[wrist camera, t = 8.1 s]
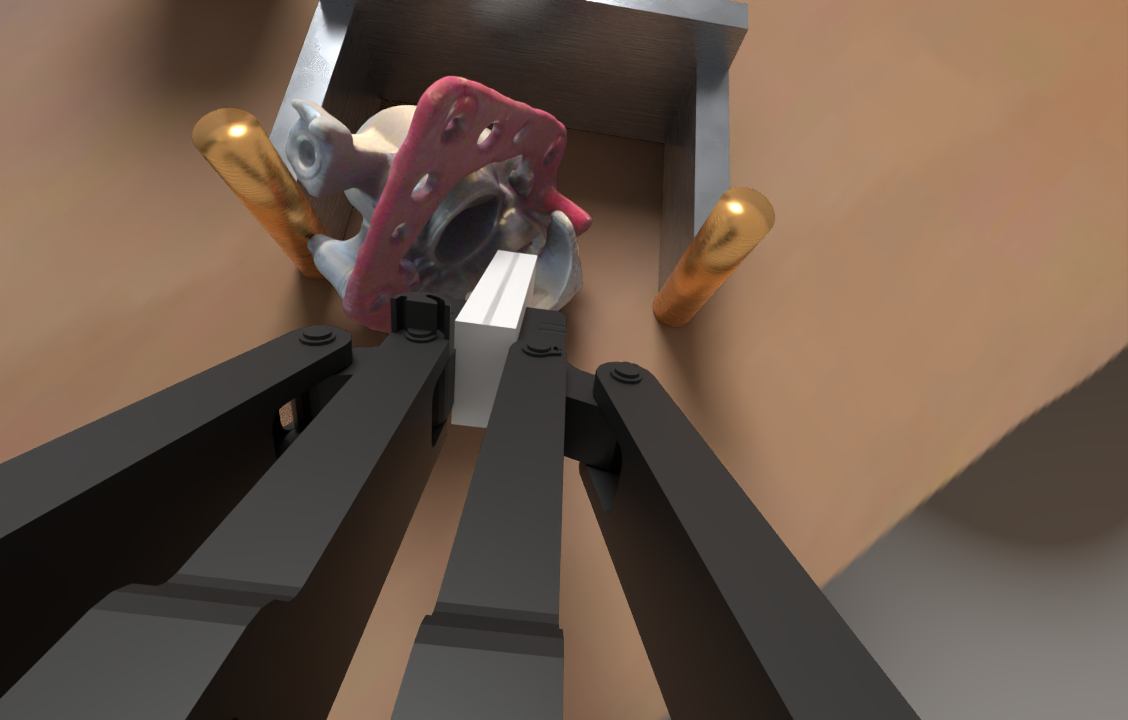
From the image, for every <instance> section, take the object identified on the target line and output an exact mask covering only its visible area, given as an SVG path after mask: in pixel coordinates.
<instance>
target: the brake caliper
mask: <svg viewBox="0 0 1128 720" xmlns="http://www.w3.org/2000/svg"><path fill="white" fill-rule="evenodd" d="M291 105H292V106H293V108H294V109H295V110H296V111H297V112H298V113H299V115H300V118H299V119H298V120H297V122H296V123H295V124H294V125H293V126H292V127H291V128H290V130H289V133H288V138H287V141H286V144H285V152H286V156H287V159H288V161H289V163H290V165H291V166H292V169H293V170H294V172H295V174H296V176H297V178H298V179H299V181H300V182H301V183H302V184H303V186H304V187H305V188H306V189H307V191H308V192H309V194H311V195H312V196H315V197H318V198H319V197H324V196H326V195H328V194H332V193H336V192H340V191H344V192H345V195H346V197H347V198H348V200H349V201H350V203H351V204H352V205H353V206H354V207H355V208H356V209H357V210H358V211H359V212H360V213H361V214H362V216H363V222H362V226H361V229H360V232H359V233H358V234H357V235H356V236H355V237H353V238H351V239H349V240H346V241H339V240H336V239H333V238H330V237H328V236H326V235H323V234H316V235H314V236H312V237H311V238H310V239H309V240H308V249H309V251H310V252H311V254H312V256H313V259H314V263H315V266H316V267H317V269H318V270H319V271H320V273H321V274H322V275H323V276H324V277H325V278H326V279H327V280H328V281H329V282H330V283H331V284H332V285H333V286H334V288H335V289H336V291H337V292H338V294H339V295H340V297H341V298H342V299H343V309H344V312H345V314H346V315H347V316H348V317H349V318H350V319H351V320H355V321H356V322H358V323H360V324H363V325H364V326H367V327H368V328H370V329H371V330H377V331H382V332H385V333H389V334H390V333H391V303H390V298H391V297H393V296H395V295H397V294H401V293H406V292H429V293H434V294H438V295H441V296H444V297H446V298H452V299H460V300H468V299H469V297H470V295H471V294H472V292H473V291H474V289H475V287H476V286H477V284H478V282H479V281H480V279H481V277H482V276H483V274H484V273H485V271H486V269H487V268H488V266H489V264H490V263H491V261H492V260H493V258H494V256H495V255H496V253H497V251H498V250H501V251H508V252H516V253H523V254H530V255H537V264H536V273H535V282H534V292H533V301H532V308H538V309H546V310H553V311H558V310H560V309H561V308H562V307H563V306H565V305H566V304H567V303H568V302H569V301H570V300H571V299H572V298H574V297H575V296H576V294H577V293H578V292H579V291H580V290H581V289H582V285H583V282H582V270H581V262H580V259H579V248H578V244H577V238H576V237H578V236H580V235H581V234H582V233H583V232H585V231H586V230H588V228H589V227H590V226H591V224H592V221H593V220H592V218H591V217H590V215H589V214H588V213H586V212H585V211H584V210H583V209H581V208H580V207H579V206H577V205H576V204H575V203H574V202H572V201H571V200H569V199H567V198H566V197H564V196H563V195H562V194H561V193H560V192H559V191H558V190H557V173H558V168H559V165H560V163H561V161H562V157H563V154H564V151H565V148H566V144H567V131H566V129H565V126H564V125H563V124H562V123H561V122H560V121H558V120H557V119H556V118H555V117H554V116H552V115H551V114H549V113H548V112H545V111H542V110H540V109H534V108H532V107H530V106H529V105H527V104H525V103H522V102H519V101H514V100H512V99H510V98H508V97H506V96H504V95H502V94H500V93H499V92H497V91H495V90H494V89H491V88H488V87H486V86H484V85H482V84H481V83H478V82H475V81H471V80H468V79H465V78H461V77H457V76H447V77H443V78H441V79H439V80H438V81H436V82H435V83H434V84H432V85H431V86H430V87H429V88H428V89H427V90H426V91H425V92H424V94H423V95H422V96H421V98H420V100H419V102H418V105H417V106H414V105H401V106H395V107H391V108H387V109H385V110H382V111H380V112H378V113H377V114H376V115H374V116H373V117H371V118H370V119H369V120H367V121H366V122H365V123H364V124H363V126H362V127H361V128H360V129H359V130H358V132H357V133H356V134H351V132H350V131H349V130H348V129H347V127H346V126H345V125H344V124H342V123H341V122H340V121H338V120H337V119H336V118H334V117H333V116H331V115H330V114H329V113H327V112H326V111H325V110H324V109H323V108H322V107H321V106H319V105H318V104H316V103H314V102H311V101H305V100H300V99H293V100H292V102H291ZM491 123H494V126H493V128H492V131H491V130H489V129H488V128H486V127H487V126H489V125H490V124H491ZM447 125H448V126H447Z"/></svg>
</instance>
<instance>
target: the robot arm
mask: <svg viewBox="0 0 1128 720" xmlns="http://www.w3.org/2000/svg"><path fill="white" fill-rule="evenodd" d="M536 264H537V255H530V254H523V253H516V252H508V251H501V250H498V251H497V253H496V255H495V256H494V258H493V260H492V261H491V263H490V264H489V266H488V268H487V269H486V271H485V273H484V274H483V276H482V277H481V279H480V281H479V282H478V284H477V286H476V287H475V289H474V291H473V292H472V294H471V295H470V297H469V299H468V300H460V299H452V298H446V297H444V296H441V295H438V294H434V293H429V292H406V293H401V294H397V295H395V296H393V297H391V298H390V303H391V333H390V334H389V335H388V337H387V338H386V339H385V340H384V341H383V342H382V343H381V344H380V346H379V347H352V338H351V334H350V333H349V332H348V331H346V330H343V329H341V328H337V327H330V326H329V325H322V326H320V325H312V326H311V327H305V328H300V329H297V330H294V331H291V332H289V333H287V334H285V335H282V336H280V337H278V338H276V339H274V340H271V341H269V342H267V343H265V344H263V345H261V346H258V347H256V348H254V349H252V350H250V351H247V352H245V353H243V354H241V355H239V356H236V357H234V358H232V359H230V360H228V361H225V362H223V363H221V364H219V365H217V366H214V367H212V368H210V369H208V370H206V371H203V372H201V373H199V374H197V375H195V376H192V377H190V378H188V379H186V380H184V381H181V382H179V383H177V384H175V385H173V386H171V387H168V388H166V389H164V390H162V391H160V392H157V393H155V394H153V395H151V396H149V397H146V398H144V399H142V400H140V401H138V402H135V403H133V404H131V405H129V406H127V407H124V408H122V409H120V410H118V411H116V412H113V413H111V414H109V415H107V416H105V417H102V418H100V419H98V420H96V421H94V422H92V423H89V424H87V425H85V426H83V427H81V428H78V429H76V430H74V431H72V432H70V433H67V434H65V435H63V436H61V437H59V438H56V439H54V440H52V441H50V442H48V443H45V444H43V445H41V446H39V447H37V448H34V449H32V450H30V451H28V452H26V453H23V454H21V455H19V456H17V457H15V458H13V459H10V460H8V461H6V462H4V463H2V464H0V720H326V719H327V717H328V715H329V712H330V710H331V707H332V705H333V703H334V700H335V698H336V696H337V693H338V691H339V689H340V686H341V684H342V681H343V679H344V677H345V674H346V672H347V670H348V667H349V665H350V663H351V660H352V658H353V655H354V653H355V651H356V648H357V646H358V644H359V641H360V639H361V637H362V634H363V632H364V629H365V627H366V625H367V622H368V620H369V618H370V615H371V613H372V611H373V608H374V606H375V603H376V601H377V599H378V596H379V594H380V592H381V589H382V587H383V584H384V582H385V580H386V577H387V575H388V573H389V570H390V568H391V566H392V563H393V561H394V558H395V556H396V554H397V551H398V549H399V547H400V544H401V542H402V540H403V537H404V535H405V532H406V530H407V528H408V525H409V523H410V521H411V518H412V516H413V514H414V511H415V509H416V506H417V504H418V502H419V499H420V497H421V495H422V492H423V490H424V488H425V485H426V483H427V480H428V478H429V476H430V473H431V471H432V469H433V466H434V464H435V462H436V459H437V457H438V454H439V452H440V450H441V447H442V445H443V443H444V440H445V438H446V435H447V417H448V414H449V412H450V410H451V408H452V419H451V424H456V425H464V426H472V427H480V428H486V432H485V435H484V439H483V442H482V446H481V449H480V453H479V456H478V460H477V463H476V467H475V470H474V474H473V477H472V481H471V484H470V488H469V491H468V495H467V498H466V502H465V505H464V509H463V512H462V516H461V519H460V523H459V526H458V530H457V533H456V537H455V540H454V544H453V547H452V551H451V554H450V558H449V561H448V564H447V568H446V571H445V575H444V578H443V582H442V585H441V589H440V592H439V596H438V599H437V603H436V606H435V609H434V612H433V613H432V615H426V616H425V617H424V619H423V621H422V623H421V625H420V627H419V630H418V633H417V636H416V639H415V642H414V645H413V648H412V651H411V654H410V658H409V661H408V664H407V667H406V671H405V674H404V677H403V680H402V684H401V687H400V690H399V693H398V697H397V700H396V703H395V706H394V710H393V713H392V716H391V719H390V720H563V670H564V638H563V630H562V629H559V587H560V556H561V524H562V493H563V461H564V456H566V457H569V458H571V459H574V460H577V461H580V463H579V473H580V476H581V478H582V481H583V484H584V486H585V489H586V492H587V494H588V497H589V500H590V502H591V505H592V508H593V510H594V513H595V516H596V519H597V521H598V524H599V527H600V529H601V532H602V535H603V537H604V540H605V543H606V545H607V548H608V551H609V553H610V556H611V559H612V561H613V564H614V567H615V569H616V572H617V575H618V577H619V580H620V583H621V586H622V588H623V591H624V594H625V596H626V599H627V602H628V604H629V607H630V610H631V612H632V615H633V618H634V620H635V623H636V626H637V628H638V631H639V634H640V636H641V639H642V642H643V645H644V647H645V650H646V653H647V655H648V658H649V661H650V663H651V666H652V669H653V671H654V674H655V677H656V679H657V682H658V685H659V687H660V690H661V693H662V695H663V698H664V701H665V704H666V706H667V709H668V712H669V714H670V717H671V720H921V719H920V718H919V716H918V715H917V714H916V713H915V711H914V710H913V709H912V707H911V706H910V705H909V704H908V703H907V701H906V700H905V698H904V697H903V696H902V695H901V693H900V692H899V691H898V689H897V688H896V687H895V685H894V684H893V683H892V682H891V680H890V679H889V678H888V677H887V675H886V674H885V673H884V671H883V670H882V669H881V667H880V666H879V665H878V664H877V662H876V661H875V660H874V659H873V657H872V656H871V655H870V653H869V652H868V651H867V650H866V648H865V647H864V646H863V644H862V643H861V642H860V641H859V639H858V638H857V637H856V635H855V634H854V633H853V631H852V630H851V629H850V628H849V626H848V625H847V624H846V622H845V621H844V620H843V619H842V617H841V616H840V615H839V613H838V612H837V611H836V610H835V608H834V607H833V606H832V604H831V603H830V602H829V600H828V599H827V598H826V597H825V595H824V594H823V593H822V591H821V590H820V589H819V588H818V586H817V585H816V584H815V582H814V581H813V580H812V579H811V577H810V576H809V575H808V573H807V572H806V571H805V570H804V568H803V567H802V566H801V564H800V563H799V562H798V561H797V559H796V558H795V557H794V555H793V554H792V553H791V552H790V550H789V549H788V548H787V546H786V545H785V544H784V543H783V541H782V540H781V539H780V537H779V536H778V535H777V534H776V532H775V531H774V530H773V528H772V527H771V526H770V525H769V523H768V522H767V521H766V519H765V518H764V517H763V516H762V514H761V513H760V512H759V510H758V509H757V508H756V506H755V505H754V504H753V503H752V501H751V500H750V499H749V497H748V496H747V495H746V494H745V492H744V491H743V490H742V488H741V487H740V486H739V485H738V483H737V482H736V481H735V479H734V478H733V477H732V476H731V474H730V473H729V472H728V470H727V469H726V468H725V467H724V465H723V464H722V463H721V461H720V460H719V459H718V458H717V456H716V455H715V454H714V452H713V451H712V450H711V449H710V447H709V446H708V445H707V443H706V442H705V441H704V440H703V438H702V437H701V436H700V434H699V433H698V432H697V431H696V429H695V428H694V427H693V425H692V424H691V423H690V422H689V420H688V419H687V418H686V416H685V415H684V414H683V412H682V411H681V410H680V409H679V407H678V406H677V405H676V403H675V402H674V401H673V400H672V398H671V397H670V396H669V394H668V393H667V392H666V391H665V389H664V388H663V387H662V385H661V384H660V383H659V382H658V380H657V379H656V378H655V376H654V375H652V374H651V373H650V372H649V371H648V370H646V369H644V368H642V367H640V366H639V365H637V364H633V363H632V364H631V363H629V362H608V363H605V364H602V365H600V366H599V367H598V368H597V370H596V374H595V375H593V374H590V373H586V372H584V371H581V370H579V369H577V368H575V367H573V366H572V365H571V364H569V363H568V361H567V354H566V351H565V343H566V323H567V318H566V317H565V316H564V315H563V314H562V313H561V312H560V311H553V310H546V309H538V308H532V301H533V292H534V282H535V273H536ZM289 401H290V402H291V409H292V416H293V422H291V423H290V424H288V425H287V426H284V427H282V425H281V421H280V415H279V409H280V408H281V407H282V406H283V405H285V404H286V403H288V402H289Z"/></svg>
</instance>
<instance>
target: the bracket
mask: <svg viewBox="0 0 1128 720" xmlns="http://www.w3.org/2000/svg"><path fill="white" fill-rule="evenodd" d="M747 31H748V4H746V3H741V2H735V1H729V0H320V1H319V4H318V6H317V9H316V12H315V14H314V17H313V20H312V23H311V25H310V28H309V31H308V34H307V36H306V39H305V42H304V45H303V47H302V50H301V53H300V55H299V58H298V61H297V64H296V66H295V69H294V72H293V75H292V77H291V80H290V83H289V86H288V88H287V91H286V94H285V96H284V99H283V102H282V105H281V107H280V110H279V113H278V116H277V118H276V121H275V124H274V127H273V129H272V132H271V135H270V137H269V138H268V136H267V135H266V133H265V131H264V130H263V128H262V127H261V125H260V124H259V122H258V120H257V119H256V118H255V117H254V116H253V115H252V114H250V113H249V112H247V111H245V110H242V109H237V108H223V109H218V110H215V111H212V112H210V113H208V114H206V115H205V116H203V117H202V118H201V119H200V120H199V121H198V122H197V123H196V125H195V127H194V129H193V133H192V140H193V143H194V145H195V147H196V148H197V149H198V151H199V152H200V153H201V154H202V155H203V157H204V158H205V159H206V160H207V161H208V162H209V164H210V165H211V166H212V167H213V168H214V170H215V171H216V172H217V173H218V174H219V175H220V177H221V178H222V179H223V180H224V181H225V183H226V184H227V185H228V186H229V187H230V188H231V190H232V191H233V192H234V193H235V194H236V196H237V197H238V198H239V199H240V200H241V201H242V203H243V204H244V205H245V206H246V207H247V208H248V210H249V211H250V212H251V213H252V214H253V216H254V217H255V218H256V219H257V220H258V221H259V223H260V224H261V225H262V226H263V227H264V229H265V230H266V231H267V232H268V233H269V234H270V236H271V237H272V238H273V239H274V240H275V242H276V243H277V244H278V245H279V246H280V247H281V249H282V250H283V251H284V252H285V253H286V255H287V256H288V257H289V258H290V259H291V260H292V262H293V263H294V264H295V265H296V266H297V268H298V269H299V270H300V271H301V272H302V273H303V274H304V275H305V276H307V277H309V278H311V279H325V277H324V276H323V275H322V274H321V273H320V271H319V270H318V269H317V267H316V266H315V263H314V259H313V256H312V254H311V252H310V251H309V249H308V240H309V239H310V238H311V237H312V236H314V235H316V234H323V235H326V236H328V237H330V238H333V239H336V240H339V241H343V238H344V235H345V231H346V228H347V224H348V220H349V217H350V213H351V210H352V206H353V205H352V204H351V203H350V201H349V200H348V198H347V197H346V195H345V192H344V191H340V192H336V193H332V194H328V195H326V196H324V197H319V198H318V197H315V196H312V195H311V194H309V192H308V191H307V189H306V188H305V187H304V186H303V184H302V183H301V182H300V181H299V179H298V178H297V176H296V174H295V172H294V170H293V169H292V166H291V165H290V163H289V161H288V159H287V156H286V152H285V144H286V141H287V138H288V133H289V130H290V128H291V127H292V126H293V125H294V124H295V123H296V122H297V120H298V119H299V118H300V115H299V113H298V112H297V111H296V110H295V109H294V108H293V106H292V105H291V102H292V100H293V99H300V100H305V101H311V102H314V103H316V104H318V105H319V106H321V107H322V108H323V109H324V110H325V111H326V112H327V113H329V114H330V115H331V116H333V117H334V118H336V119H337V120H338V121H340V122H341V123H342V124H344V125H345V126H346V127H347V129H348V130H349V131H350V132H351V134H356V133H357V132H358V130H359V129H360V128H361V127H362V126H363V124H364V123H365V122H366V121H367V120H369V119H370V118H371V117H373V116H374V115H376V114H377V113H378V112H379V111H380V107H381V103H382V100H383V99H387V100H394V101H400V102H406V103H412V104H418V102H419V100H420V98H421V96H422V95H423V94H424V92H425V91H426V90H427V89H428V88H429V87H430V86H431V85H432V84H434V83H435V82H436V81H438V80H439V79H441V78H443V77H447V76H457V77H461V78H465V79H468V80H471V81H475V82H478V83H481V84H482V85H484V86H486V87H488V88H491V89H494V90H495V91H497V92H499V93H500V94H502V95H504V96H506V97H508V98H510V99H512V100H514V101H519V102H522V103H525V104H527V105H529V106H530V107H532V108H534V109H540V110H542V111H545V112H548V113H549V114H551V115H552V116H554V117H555V118H556V119H557V120H558V121H560V122H561V123H562V124H563V125H564V126H565V128H570V129H576V130H582V131H589V132H595V133H601V134H608V135H614V136H620V137H626V138H633V139H639V140H645V141H652V142H658V143H664V144H665V151H664V174H663V198H662V222H661V246H660V270H659V293H658V295H657V296H656V298H655V300H654V303H653V311H654V314H655V316H656V317H657V319H658V320H659V321H660V322H661V323H663V324H664V325H666V326H669V327H681V326H683V325H685V324H687V323H688V322H689V321H690V319H691V318H692V317H693V316H694V315H695V314H696V313H697V312H698V310H699V309H700V308H701V307H702V306H703V305H704V304H705V303H706V301H707V300H708V299H709V298H710V297H711V296H712V295H713V294H714V293H715V291H716V290H717V289H718V288H719V287H720V286H721V285H722V284H723V282H724V281H725V280H726V279H727V278H728V277H729V276H730V275H731V273H732V272H733V271H734V270H735V269H736V268H737V267H738V266H739V264H740V263H741V262H742V261H743V260H744V259H745V258H746V257H747V256H748V254H749V253H750V252H751V251H752V250H753V249H754V248H755V247H756V245H757V244H758V243H759V242H760V241H761V240H762V239H763V238H764V236H765V235H766V234H767V233H768V232H769V231H770V230H771V228H772V227H773V225H774V222H775V212H774V209H773V206H772V204H771V203H770V201H769V200H768V199H767V198H766V197H765V196H764V195H763V194H761V193H760V192H758V191H756V190H754V189H751V188H748V187H735V188H731V189H730V164H729V68H730V66H731V64H732V62H733V60H734V57H735V55H736V53H737V51H738V49H739V47H740V45H741V43H742V41H743V39H744V37H745V35H746V33H747Z"/></svg>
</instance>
